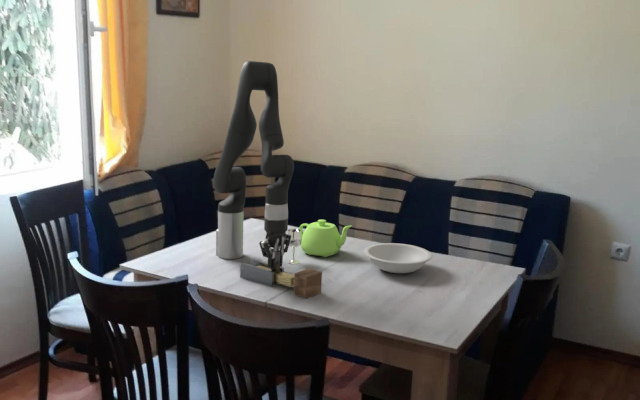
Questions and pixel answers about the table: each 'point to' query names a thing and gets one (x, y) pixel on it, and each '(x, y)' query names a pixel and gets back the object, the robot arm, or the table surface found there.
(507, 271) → the table surface
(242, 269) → the sleeve
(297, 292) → the brown wooden cube
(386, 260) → the soup bowl
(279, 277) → the tube
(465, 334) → the table surface
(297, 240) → the wineglass
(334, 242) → the teapot
